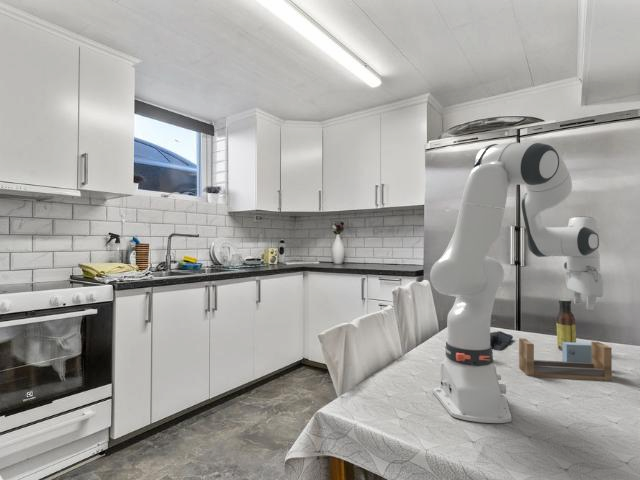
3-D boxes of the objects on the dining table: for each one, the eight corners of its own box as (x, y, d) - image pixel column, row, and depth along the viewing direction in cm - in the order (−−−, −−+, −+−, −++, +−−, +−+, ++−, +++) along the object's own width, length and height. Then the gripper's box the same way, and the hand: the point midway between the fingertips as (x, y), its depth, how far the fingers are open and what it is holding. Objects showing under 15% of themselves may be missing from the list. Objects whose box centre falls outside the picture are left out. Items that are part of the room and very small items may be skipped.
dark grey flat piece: (519, 342, 155) (519, 331, 155) (499, 352, 140) (499, 340, 140) (483, 335, 166) (483, 325, 166) (461, 344, 151) (461, 333, 151)
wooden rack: (612, 381, 110) (612, 348, 110) (527, 375, 115) (527, 344, 115) (597, 371, 118) (597, 341, 118) (518, 367, 122) (518, 337, 122)
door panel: (601, 370, 119) (601, 346, 119) (568, 369, 121) (568, 345, 121) (594, 366, 123) (594, 343, 123) (562, 365, 125) (562, 342, 125)
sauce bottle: (570, 347, 145) (570, 298, 145) (580, 352, 139) (579, 301, 139) (553, 347, 146) (553, 298, 146) (562, 351, 140) (561, 300, 140)
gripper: (609, 267, 109) (610, 313, 109) (581, 263, 129) (582, 302, 129) (585, 267, 111) (585, 312, 111) (561, 263, 131) (562, 301, 131)
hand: (583, 306), depth 120 cm, fingers open, 8 cm apart
